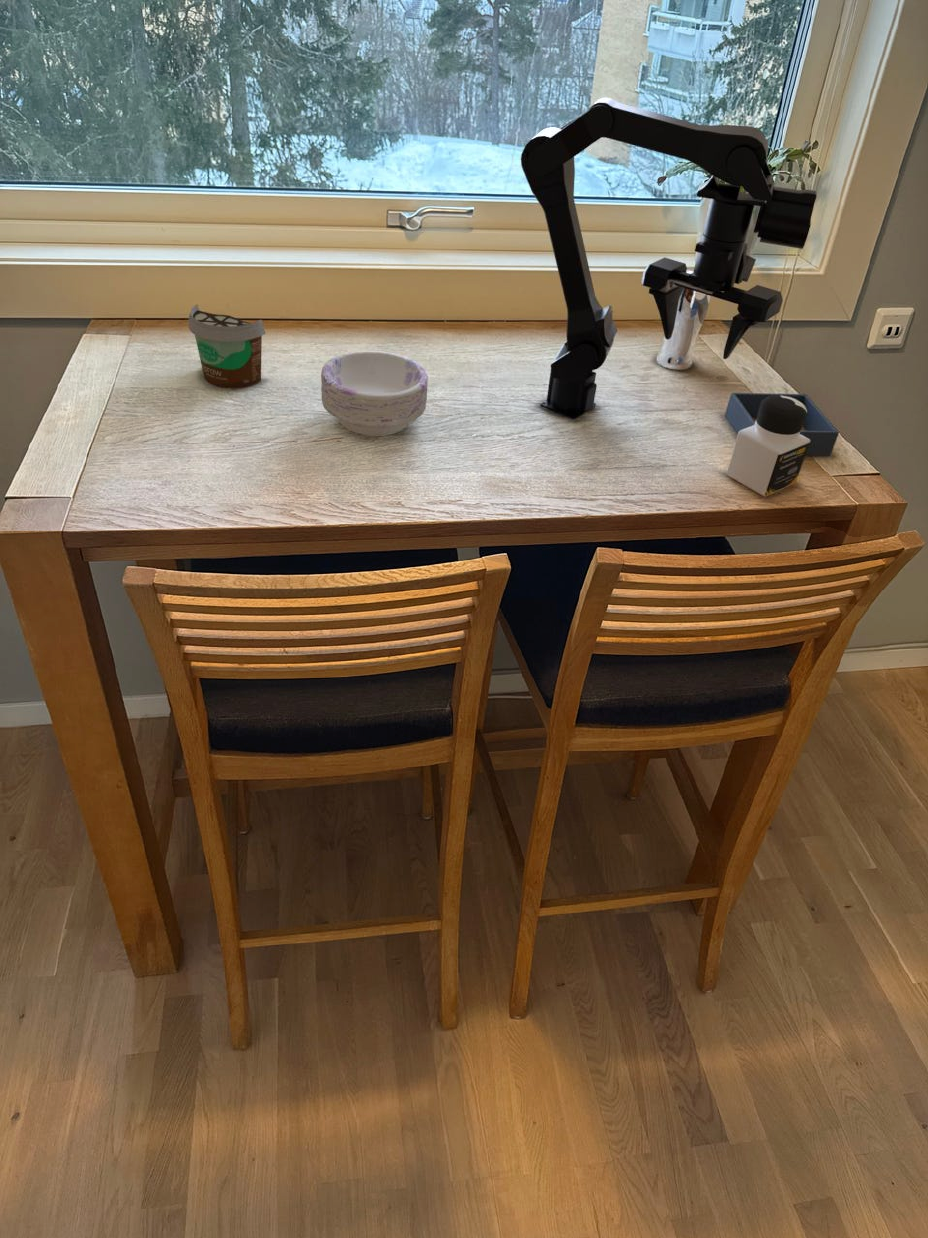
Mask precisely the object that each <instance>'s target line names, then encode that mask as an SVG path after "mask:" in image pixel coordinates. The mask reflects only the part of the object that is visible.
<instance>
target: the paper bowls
mask: <svg viewBox="0 0 928 1238" xmlns="http://www.w3.org/2000/svg"><path fill="white" fill-rule="evenodd" d="M320 378H321V379H320V382H321V389H320V390H321V402H322V406H323V408H324V410H326V412H327V413H328V414H330V416H332V417H334V418H336V419H337V420H338V421H339V423H340V424H341V425H342V426H343V427H344V428H346V429H347V430H348V431H350V432H353V433H355V434H358V435H362V436H368V437H386V436H391V435H394V434H397V433H399V432H401V431H403V430H405V428H407V426H408V425H409V424H410V423H412V422H415V421H417V420H418V419H419V418H420V417H421V416H422V415H423V414H424V413H425V411H426V409H427V402H428V401H427V400H428V387H429V386H428V385H429V375H428V373H427V371H426V369H425V368H424V367H423V366H422V365H421V364H420V363H418V362H416V361H414V360H413V359H411V358H409V357H406V356H403V355H401V354H398V353H392V352H387V351H377V350H359V351H351V352H346V353H342V354H339V355H336V356H333V357H332V358H330V359H329V360H328V361H327V362H325V364H324V365H323V366H322V368H321V374H320Z"/></svg>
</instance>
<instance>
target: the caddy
mask: <svg viewBox="0 0 928 1238" xmlns="http://www.w3.org/2000/svg"><path fill="white" fill-rule="evenodd" d="M777 395H781V396H788V397H791V398H794V399H796V400H798V401H799V402H801V403H802V404H803V405H804V406H805V407H806V409H807V414H806V417H805V420H804V423H803V425H802V428H804V429H805V430H801V431H800V434H801V435H803V436H805V437H807V438H809V439H810V444H809V447H808V450H807V453H806V455H805V457H831V455H832V453H833V450H834V447H835V445H836V442H837V439H838V437H839V434H840V432H839V430H838V429H837V428H836V426H834V425H833V423H832V422H831V421H830V420H829V419H828V418H827V416H826V415H825V414H824V412H822V411H821V409H820V408H819V407H818V406H817V404H816V403H815V402H814V401H813V400H812V399H811V397H810V396H809V395H808V394H807V393H771V392H769V393H768V392H767V393H765V392H763V393H762V392H730V396H729V399H728V403H727V406H726V409H725V413H724V417H725V419H726V420H727V421H728V423H729V424H730V426H731V428H732V430H733V431H734V432H735V434H736V436H737V435H738V432H739V431H740V430H742V429H745V428H748V427H750V426H753V425H755V421H756V420H754V419H756V418H757V415H758V412H759V408H760V405H761V402H762V400H764V399H765V398H767V397H769V396H777Z"/></svg>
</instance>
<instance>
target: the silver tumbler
mask: <svg viewBox="0 0 928 1238" xmlns="http://www.w3.org/2000/svg"><path fill="white" fill-rule="evenodd" d="M693 272H694V268H687V271H686V273H689V274H692V273H693ZM711 298H712V296H709V295H706V294H703V293H700V292H697V291H693V290H690V289H687V288H684V289H683V291H682V293H681V296H680V298H679V302H678V308H677V314H676V319H675V325H674V330H673V333H672V336H671V338H670V339H668V340H667V339H666V338H665V334H664V333H663V339H662V343H661V346H660V349H659V351H658V354H657V356H656V362H657V364H658V365H660V366H661V367H663V368H666V369H669V370H675V371H683V370H688V369H690V368H691V367H692V364H693V353H694V347H695V343H696V340H697V338H698V335H699V333H700V330H701V328H702V327H703V324H704V321H705V319H706V316H707V313H708V310H709V307H710V302H711Z"/></svg>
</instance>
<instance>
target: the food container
mask: <svg viewBox="0 0 928 1238" xmlns="http://www.w3.org/2000/svg"><path fill="white" fill-rule="evenodd" d="M187 324H188V330H189V331H190V332H191V333H192V334H193V335H194V338H195V342H196V347H197V351H198V355H199V356H198V357H199V360H200V364H201V370H202V373H203V374H202V375H203V378H204V380H205V381H206V382H207V383H208V384H210V385H212V386H215V387H218V388H223V389H242V388H247V387H251V386H254V385H256V384H258V383H260V382H262V344H263V343H262V342H263V341H262V340H263V338H262V337H263V336H264V335H267V334H266V329H265V325H264V323H263V321H262V319H259V320H258V321H255V322H252V323H251V322H247V321H244V320H242V319H239V318H237V317H234V316H231V315H227V314H216V313H211V312H207V311H202V310H200V309H199V305H198V303H197V304H195V305H193V306H192V308H191V309H190V313H189V316H188V323H187Z"/></svg>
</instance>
